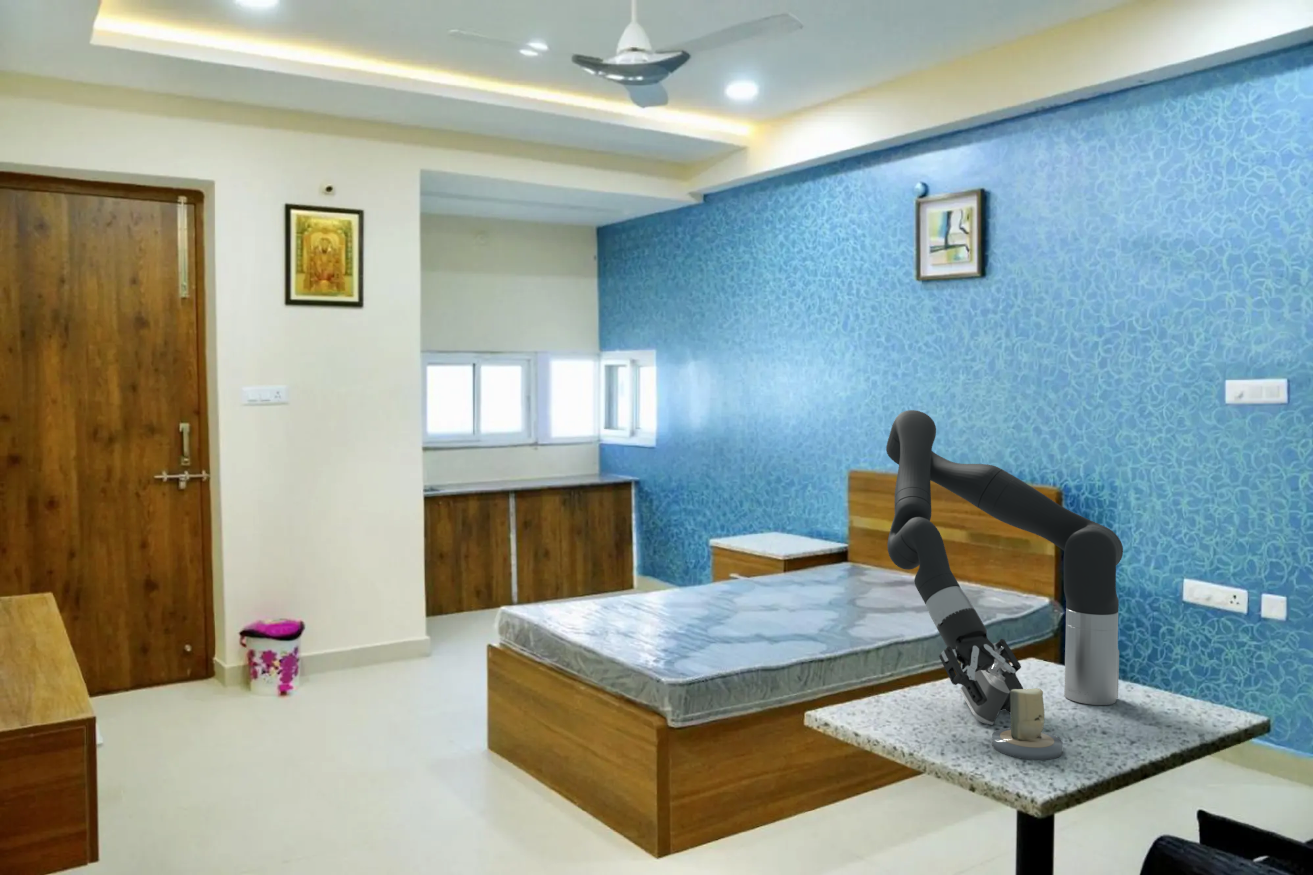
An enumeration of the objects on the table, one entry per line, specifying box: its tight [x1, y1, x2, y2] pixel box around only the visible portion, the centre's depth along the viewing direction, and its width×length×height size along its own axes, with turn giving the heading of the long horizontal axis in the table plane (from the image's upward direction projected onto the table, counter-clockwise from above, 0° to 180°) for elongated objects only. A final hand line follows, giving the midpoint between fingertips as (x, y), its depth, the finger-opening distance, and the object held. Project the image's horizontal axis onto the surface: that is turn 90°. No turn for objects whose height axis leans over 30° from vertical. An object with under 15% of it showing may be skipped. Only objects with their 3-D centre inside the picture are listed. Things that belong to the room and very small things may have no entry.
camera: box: [959, 660, 1011, 726], centre depth 182 cm, size 9×16×10 cm, turn 175°
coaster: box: [991, 727, 1064, 761], centre depth 164 cm, size 11×11×2 cm
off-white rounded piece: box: [1010, 688, 1045, 741], centre depth 164 cm, size 6×5×8 cm
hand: (1001, 699), depth 169 cm, fingers open, 8 cm apart
